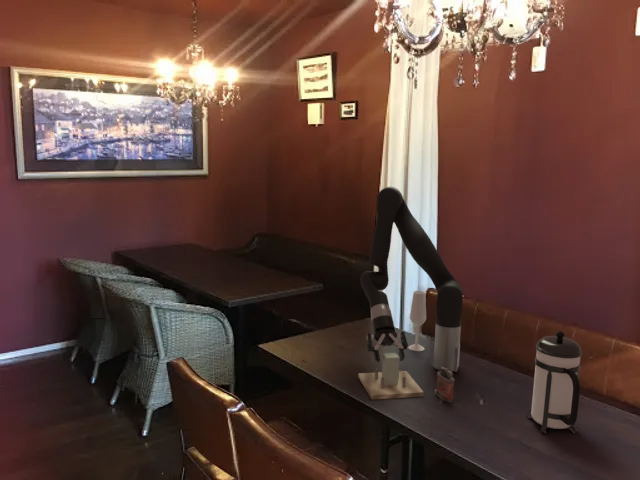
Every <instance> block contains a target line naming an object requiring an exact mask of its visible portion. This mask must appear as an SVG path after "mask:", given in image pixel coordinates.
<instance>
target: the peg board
mask: <svg viewBox="0 0 640 480" xmlns="http://www.w3.org/2000/svg"><path fill="white" fill-rule="evenodd" d="M357 378H358V379H359V381H360V382H361V384H362V385H363V388H364V389H365V391H366V393H367V394H368V396H369V397H370V399H371V400H388V399H401V398H417V397H424V391H423V389H422V388H421V387H420V386H419V385H418V383H417V382H416V381H415V380H414V378H413V377H412V376H411V375H410V373H409V372H408V371H407V370H399V373H398V385H385V384H384V383H385V378H384V377H382V371H379V368H375V369H374V372H361V373H360V372H359V373H358V376H357Z"/></svg>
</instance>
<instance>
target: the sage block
mask: <svg viewBox="0 0 640 480" xmlns="http://www.w3.org/2000/svg"><path fill="white" fill-rule="evenodd" d="M399 371H400V357H399V354H397V352H383V353H382V367H381V372H382V377H384V378H385V383H384V384H385V385H398V373H399Z"/></svg>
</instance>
